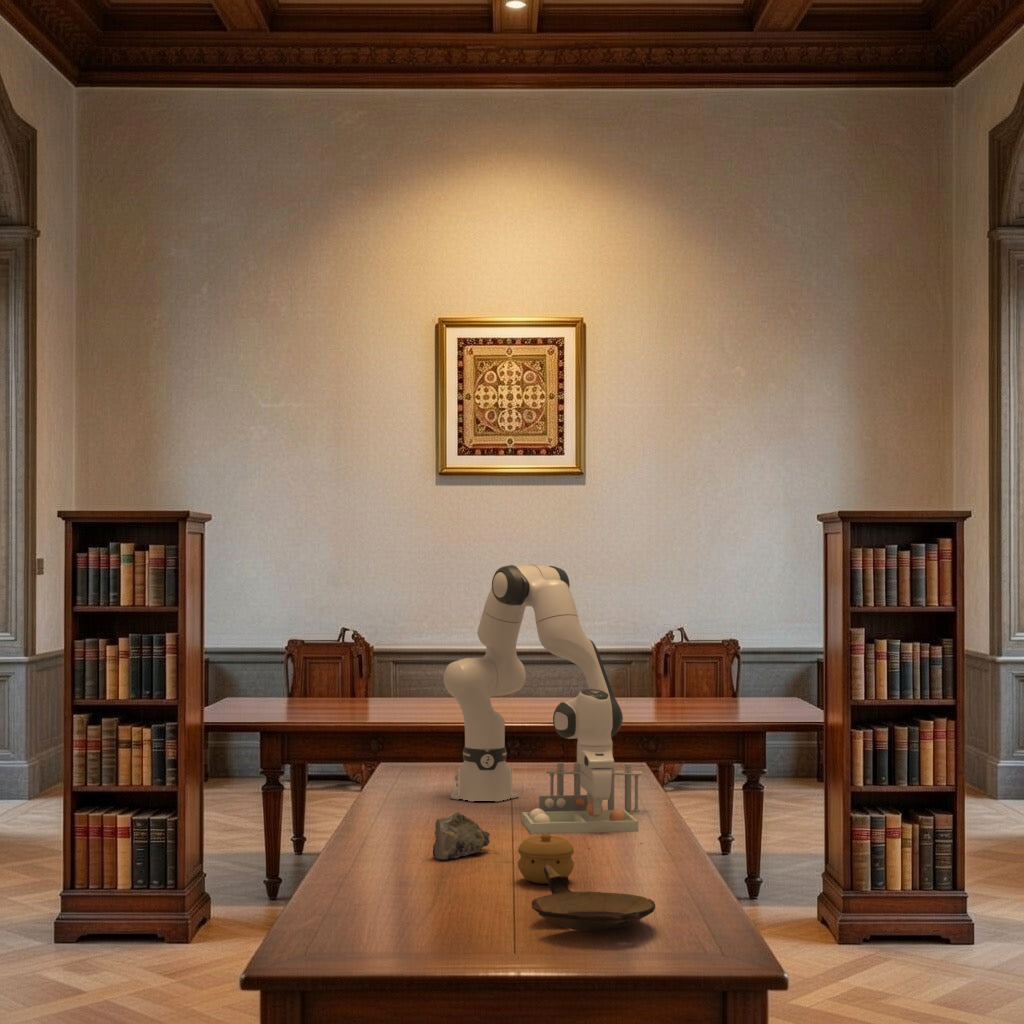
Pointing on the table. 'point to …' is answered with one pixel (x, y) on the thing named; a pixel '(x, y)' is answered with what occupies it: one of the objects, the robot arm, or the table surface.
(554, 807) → the card
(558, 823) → the twin dish
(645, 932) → the table surface
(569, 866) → the pot
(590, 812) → the terracotta ball
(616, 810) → the terracotta ball
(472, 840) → the mineral rock
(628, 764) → the test tube rack
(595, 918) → the frying pan
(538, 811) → the ivory ball
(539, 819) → the ivory ball
